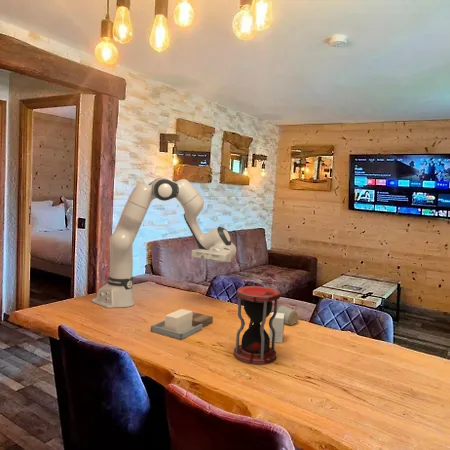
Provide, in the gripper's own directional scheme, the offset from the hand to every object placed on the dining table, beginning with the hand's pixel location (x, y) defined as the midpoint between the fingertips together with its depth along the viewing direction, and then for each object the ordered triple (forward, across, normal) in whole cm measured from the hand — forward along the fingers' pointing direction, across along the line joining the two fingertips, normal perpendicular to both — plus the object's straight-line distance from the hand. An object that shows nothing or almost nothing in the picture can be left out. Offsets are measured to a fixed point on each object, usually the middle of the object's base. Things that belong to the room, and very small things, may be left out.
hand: (202, 257), depth 204 cm
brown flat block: (+14, +6, +28) cm, 32 cm away
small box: (+10, +45, +28) cm, 54 cm away
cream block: (+20, +6, +24) cm, 32 cm away
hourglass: (+31, +45, +28) cm, 61 cm away
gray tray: (+27, +6, +28) cm, 40 cm away
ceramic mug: (-14, +41, +28) cm, 52 cm away
